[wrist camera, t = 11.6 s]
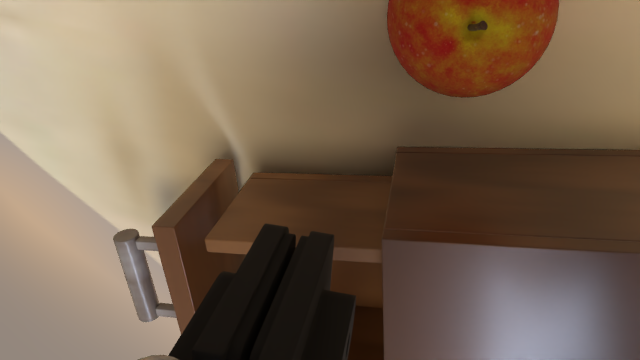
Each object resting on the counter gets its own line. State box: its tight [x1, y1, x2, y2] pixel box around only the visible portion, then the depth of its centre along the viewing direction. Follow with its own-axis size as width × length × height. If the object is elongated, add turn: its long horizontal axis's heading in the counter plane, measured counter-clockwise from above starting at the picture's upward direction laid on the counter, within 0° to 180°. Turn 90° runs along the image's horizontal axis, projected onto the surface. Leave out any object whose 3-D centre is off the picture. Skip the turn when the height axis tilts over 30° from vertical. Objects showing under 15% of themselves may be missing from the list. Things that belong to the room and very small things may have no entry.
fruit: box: [387, 0, 559, 98], centre depth 20 cm, size 7×7×8 cm
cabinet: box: [382, 147, 640, 360], centre depth 25 cm, size 15×13×10 cm
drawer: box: [113, 159, 392, 360], centre depth 28 cm, size 18×11×8 cm, turn 95°
